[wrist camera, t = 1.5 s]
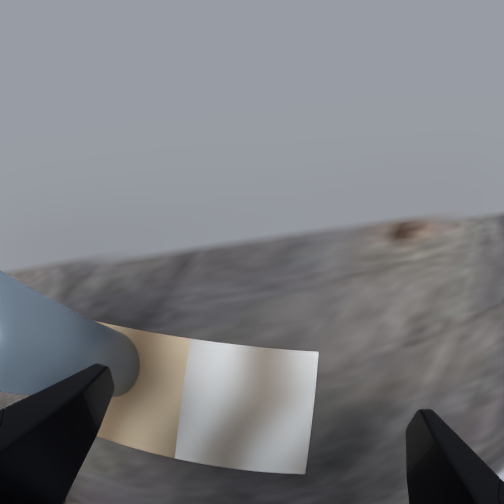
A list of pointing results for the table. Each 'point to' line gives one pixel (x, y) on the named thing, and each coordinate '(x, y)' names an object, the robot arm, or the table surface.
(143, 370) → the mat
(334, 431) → the table surface
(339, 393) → the table surface
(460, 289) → the table surface
